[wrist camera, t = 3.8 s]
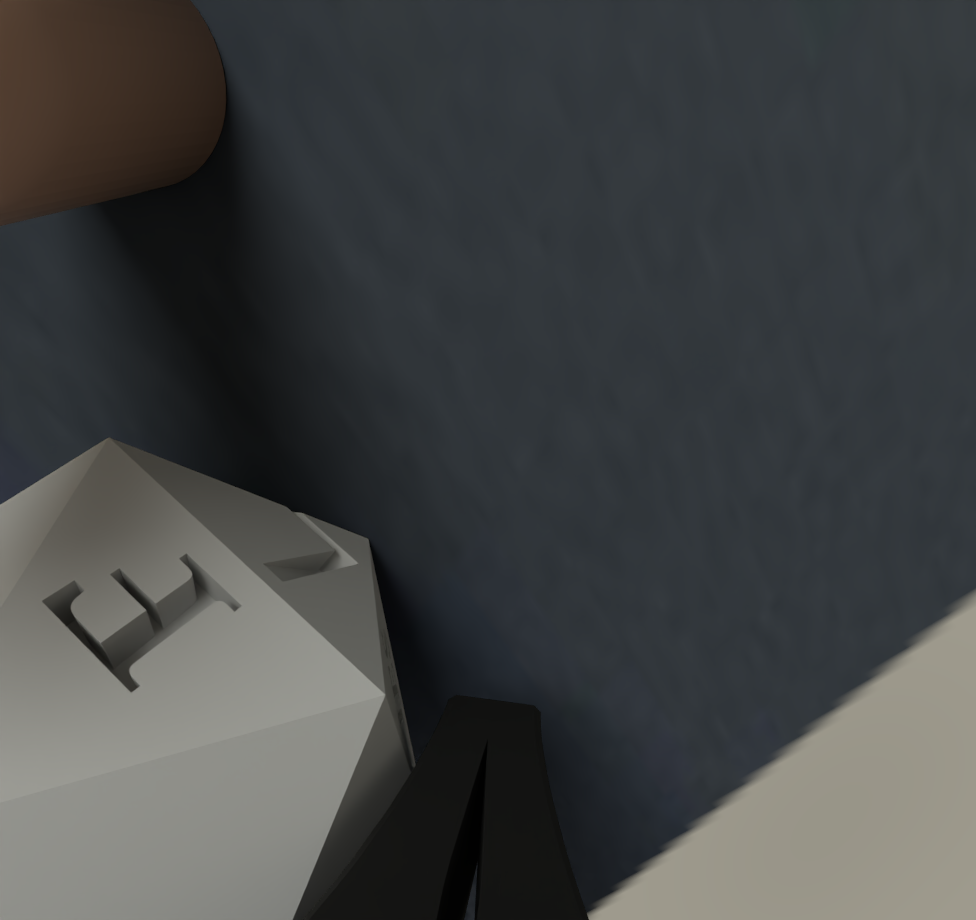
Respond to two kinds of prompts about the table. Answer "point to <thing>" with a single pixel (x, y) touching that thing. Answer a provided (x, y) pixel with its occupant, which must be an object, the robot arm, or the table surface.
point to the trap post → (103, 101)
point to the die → (185, 698)
